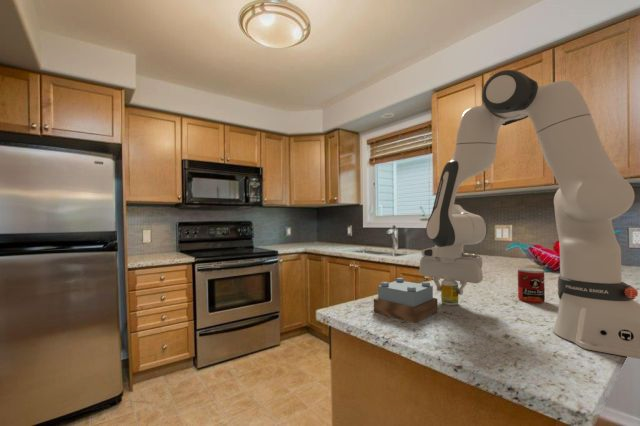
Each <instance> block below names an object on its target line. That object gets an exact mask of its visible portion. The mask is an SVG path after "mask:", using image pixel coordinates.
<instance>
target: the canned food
mask: <svg viewBox="0 0 640 426" xmlns="http://www.w3.org/2000/svg"><path fill="white" fill-rule="evenodd" d="M545 287H546V286H545V270H544V269H541V268H538V267H537V268H536V267H518V268H517V297H518V300H519V301H521V302H523V303H529V304H543V303H544V302H545V300H546V299H545V296H546V295H545V292H546V291H545Z"/></svg>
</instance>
